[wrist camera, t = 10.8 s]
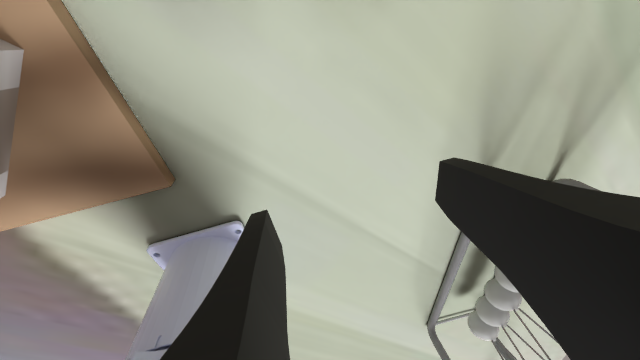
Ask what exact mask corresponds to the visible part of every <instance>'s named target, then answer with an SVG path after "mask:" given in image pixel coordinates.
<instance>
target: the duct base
mask: <svg viewBox="0 0 640 360" xmlns="http://www.w3.org/2000/svg"><path fill="white" fill-rule="evenodd" d="M174 181H175V178H174V176H173V175H172V173H171V172H170V170H169V169H168V167H167V166H166V164H165V162H164V161H163V159H162V158H161V156H160V155H159V153H158V151H157V150H156V148H155V147H154V145H153V144H152V142H151V141H150V139H149V137H148V136H147V134H146V133H145V131H144V130H143V128H142V126H141V125H140V123H139V122H138V120H137V119H136V117H135V115H134V114H133V112H132V111H131V109H130V108H129V106H128V105H127V103H126V101H125V100H124V98H123V97H122V95H121V94H120V92H119V90H118V89H117V87H116V86H115V84H114V83H113V81H112V80H111V78H110V76H109V75H108V73H107V72H106V70H105V69H104V67H103V65H102V64H101V62H100V61H99V59H98V58H97V56H96V54H95V53H94V51H93V50H92V48H91V47H90V45H89V44H88V42H87V40H86V39H85V37H84V36H83V34H82V33H81V31H80V29H79V28H78V26H77V25H76V23H75V22H74V20H73V19H72V17H71V15H70V14H69V12H68V11H67V9H66V8H65V6H64V4H63V3H62V1H61V0H0V231H4V230H8V229H11V228H15V227H19V226H23V225H27V224H30V223H34V222H38V221H42V220H46V219H49V218H53V217H57V216H61V215H65V214H68V213H72V212H76V211H80V210H84V209H87V208H91V207H95V206H99V205H103V204H106V203H110V202H114V201H118V200H122V199H125V198H129V197H133V196H137V195H141V194H144V193H148V192H152V191H156V190H160V189H163V188H167V187H171V185H172V184H173V182H174Z"/></svg>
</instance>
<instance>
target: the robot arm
mask: <svg viewBox="0 0 640 360" xmlns="http://www.w3.org/2000/svg"><path fill="white" fill-rule="evenodd" d="M435 201H436V202H437V204H438V205H439V206H440V208H441V209H442V210H443V212H444V213H445V214H446V216H447V217H448V218H449V219H450V220H451V221H452V222H453V224H454V225H455V226H456V227H457V228H458V229H459V230H460V231H461V232H462V233H463V234H464V235H465V236H466V237H467V238H468V239H469V240H470V241H471V242H472V243H474V244H475V245H476V246H477V247H478V248H479V249H480V250H481V251H482V252H483V253H484V254H485V255H486V256H487V257H488V258H489V259H490V260H491V261H492V262H493V263H494V264H495V265H496V266H497V268H498V269H499V270H500V271H501V272H502V273H503V274H504V275H505V276H506V278H507V279H508V280H509V281H510V282H511V283H512V285H513V286H514V287H515V288H516V289H517V291H518V292H519V293H520V294H521V295H522V297H523V298H524V299H525V300H526V302H527V303H528V304H529V305H530V307H531V308H532V309H533V310H534V312H535V313H536V314H537V315H538V317H539V318H540V319H541V321H542V322H543V323H544V324H545V326H546V327H547V328H548V330H549V331H550V332H551V334H552V335H553V336H554V338H555V339H556V341H557V342H558V343H559V345H560V346H561V347H562V349H563V350H564V351H565V353H566V354H567V355H568V357H569V358H570V360H640V197H633V196H627V195H620V194H614V193H608V192H602V191H597V190H591V189H585V188H580V187H575V186H570V185H565V184H561V183H556V182H552V181H547V180H543V179H538V178H534V177H530V176H526V175H522V174H518V173H514V172H510V171H506V170H503V169H499V168H495V167H491V166H487V165H484V164H480V163H476V162H472V161H468V160H463V159H458V158H451V159H447V160H443V161H440V163H439V172H438V181H437V189H436V198H435ZM237 230H241V231H237ZM147 253H148V254H149V255H150V256H151V257H152V258H153V259H154V260H155V261H156V262H157V264H158V265H159V266H160V267H161V268H162V269H163V270H164V272H163V275H162V277H161V279H160V282H159V284H158V286H157V288H156V291H155V293H154V295H153V298H152V300H151V302H150V304H149V307H148V309H147V311H146V314H145V316H144V318H143V321H142V323H141V325H140V327H139V330H138V332H137V334H136V337H135V339H134V341H133V343H132V346H131V348H130V350H129V353H128V355H127V357H126V359H125V360H290V355H289V347H288V335H287V308H286V276H285V264H284V257H283V250H282V245H281V242H280V240H279V238H278V235H277V233H276V230H275V228H274V225H273V223H272V220H271V218H270V216H269V213H268V211H267V210H264V211H261V212H257V213H254V214H251V216H250V218H249V220H248V222H247V224H246V226H245V228H244V226H243V224H242V223H241V222H240V221H233V222H229V223H225V224H222V225H218V226H215V227H211V228H208V229H204V230H200V231H197V232H193V233H190V234H186V235H183V236H179V237H175V238H172V239H168V240H165V241H161V242H158V243H154V244H151V245H149V246H148V248H147ZM158 253H159V254H158Z"/></svg>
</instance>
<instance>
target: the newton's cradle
mask: <svg viewBox="0 0 640 360" xmlns="http://www.w3.org/2000/svg"><path fill="white" fill-rule="evenodd" d="M552 182H556V183H561V184H565V185H570V186H575V187H580V188H585V189H591V190H597V189H595V188H593V187H591V186H588V185H586V184H584V183H582V182H579V181H576V180H573V179H559V180H554V181H552ZM597 191H600V190H597ZM469 243H470V240H469V239H468V238H467V237H466V236H465V235H464V234H463V233H462V232H461V235H460V238H459V240H458V243H457V246H456V248H455V251H454V254H453V257H452V259H451V262H450V265H449V267H448V270H447V273H446V275H445V278H444V281H443V283H442V286H441V289H440V291H439V294H438V297H437V299H436V302H435V305H434V307H433V310H432V313H431V316H430V318H429V321H428V325H427V327H428V333H429V336H430V338H431V340H432V342H433V344H434V346H435V348H436V350H437V352H438V353H439V355H440V357H441V359H442V360H450V358H449V356H448V355H447V353H446V351H445V350H444V348H443V346H442V344H441V343H440V341H439V339H438V337H437V335H436V332H435V325H438V324H441V323H445V322H449V321H452V320H456V319H460V318H463V317H467V316H468V326H469V328H470V330H471V332H472V333H473V334H474V335H475V336H476V337H478V338H480V339H482V340H485V341H492V343H493V344H494V346H495V348H496V349H497V351H498V353H499V355H500V356H501V354H502V356H503V357H504V358H505V360H517V359H516V358H515V357H514V356H513V355H512V354H511V353H510V352H509V351H508V350H507V349H506V348H505V346H504V345H503V344H502V343H501V341H500V340H499V339H498V338H497V336H498V335H499V327H501V326H502V328H503V330H504V331H505V333H506V334H507V336H508V337H509V335H508V333H507V332H506V330H505V329H504V327H506V326H508V325H507V323H508V321H509V317H510V314H509V311H514V312H515V314H516V315H517V316H518V318H519V319H520V320H521V322H522V323H523V325H524V326H525V327H526V329H527V330H528V332H529V333H530V334H531V336H532V337H533V338H534V340H535V341H536V343H537V344H538V345H539V347H540V348H541V349H542V351H543V352H544V354H545V355H546V356H547V358H548V359H549V360H551V359H550V358H549V356H548V355H547V354H546V352H545V351H544V350H543V348H542V347H541V345H540V344H539V343H538V341H537V340H536V339H535V337H534V336H533V334H532V333H531V332H530V330H529V329H528V328H527V326H526V325H525V324H524V322H523V321H522V319H521V318H520V317H519V315H518V314H517V313H516V311H517V310H520V311H521V312H522V313H524V312H523V311H522V310H521V309H519V308H518V307H519V306H520V304H521V301H522V298H521V294H520V293H519V292H518V291H517V289H516V288H515V287H514V286H513V285H512V283H511V282H510V281H509V280H508V279H507V278H506V276H505V275H504V274H503V273H502V272H501V271H500V270H499V269H498V268H497V266H495V269H494V274H495V277H494V279H491V280H489V281H488V282H487V283H486V285H485V287H484V293H485V295H484V296H482V297H480V298H479V299H478V300H477V301H476V305H475V308H476V311H473V312H471V313H467V314H464V315H460V316H456V317H452V318H449V319H445V320H441V321H438V318H439V316H440V313H441V311H442V308H443V306H444V304H445V301H446V299H447V296H448V294H449V291H450V289H451V287H452V284H453V282H454V279H455V277H456V274H457V272H458V270H459V267H460V265H461V262H462V260H463V257H464V255H465V253H466V250H467V248H468V245H469ZM524 314H525V315H526V316H527V317H528V318H529V319H531V318H530V317H529V316H528V315H527V314H526V313H524ZM531 320H532V321H533V322H534V323H535V324H536V325H538V324H537V323H536V322H535V321H534V320H533V319H531ZM538 326H539V327H540V328H541V329H542V330H543V331H545V332H546V333H547V334H548V335H549V336H550V337H552V338H553V339H554V340H555V341H556V339H555V338H554V337H553V336H551V335H550V334H549V333H548V332H547V331H546V330H544V329H543V328H542V327H541V326H540V325H538ZM508 327H509V326H508ZM509 328H510V327H509ZM510 329H511V330H512V331H513V332H514V333H515V334H516V335H517V336H518V337H519V338H520V339H521V340H522V341H523V342H525V341H524V340H523V339H522V338H521V337H520V336H519V335H518V334H517V333H516V332H515V331H514V330H513V329H512V328H510ZM509 339H510V340H511V338H510V337H509ZM511 342H512V344H513V345H514V347H515V348H516V350H517V351H518V353H519V354H520V356H521V358H522V359H523V360H524V358H523V357H522V355H521V353H520V352H519V350H518V349H517V347H516V346H515V344H514V343H513V341H512V340H511ZM556 342H557V341H556ZM525 343H526V342H525ZM557 343H558V342H557ZM526 344H527V343H526ZM527 345H528V346H529V347H530V348H531V349H532V350H533V351H534V352H535V353H536V354H537V355H538V356H539V357H540V358H541V359H542V360H544V359H543V358H542V357H541V356H540V355H539V354H538V353H537V352H536V351H535V350H534V349H533V348H532V347H531V346H530V345H529V344H527ZM500 353H501V354H500ZM502 356H501V358H502V360H504V359H503V357H502Z"/></svg>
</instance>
